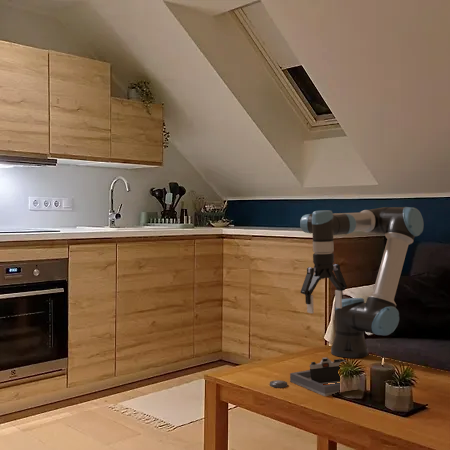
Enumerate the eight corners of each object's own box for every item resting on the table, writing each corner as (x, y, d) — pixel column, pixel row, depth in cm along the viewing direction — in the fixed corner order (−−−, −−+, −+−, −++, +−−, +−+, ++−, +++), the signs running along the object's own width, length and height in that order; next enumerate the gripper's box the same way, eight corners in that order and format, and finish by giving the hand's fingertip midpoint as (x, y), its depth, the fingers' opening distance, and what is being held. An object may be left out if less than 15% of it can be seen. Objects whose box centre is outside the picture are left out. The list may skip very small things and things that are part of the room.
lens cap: (280, 382, 213) (280, 378, 213) (290, 387, 208) (290, 382, 208) (266, 385, 210) (266, 381, 210) (276, 389, 205) (276, 385, 205)
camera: (350, 378, 210) (344, 352, 212) (351, 380, 203) (344, 353, 204) (313, 385, 212) (307, 359, 214) (312, 388, 204) (306, 361, 206)
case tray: (321, 376, 221) (321, 367, 220) (357, 389, 204) (357, 380, 204) (290, 381, 214) (290, 373, 214) (324, 396, 197) (324, 387, 197)
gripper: (341, 249, 232) (343, 304, 233) (289, 254, 219) (291, 313, 220) (355, 250, 226) (357, 307, 227) (303, 256, 212) (304, 316, 214)
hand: (324, 310), depth 223 cm, fingers open, 13 cm apart
